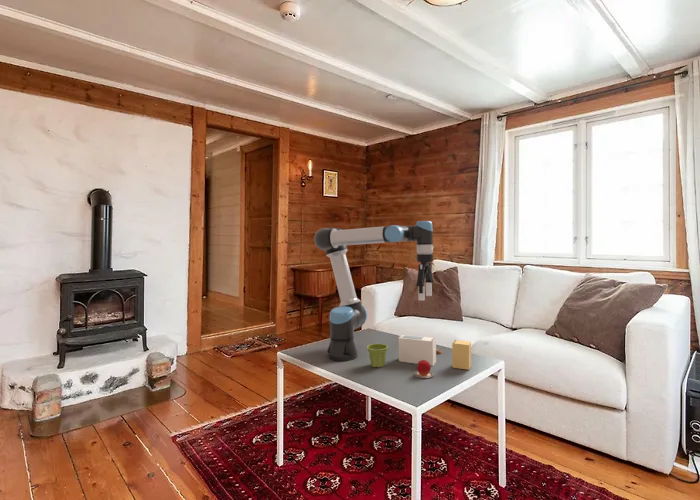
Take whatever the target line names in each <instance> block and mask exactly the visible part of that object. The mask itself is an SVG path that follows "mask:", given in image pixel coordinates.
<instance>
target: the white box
mask: <svg viewBox="0 0 700 500" xmlns="http://www.w3.org/2000/svg"><path fill="white" fill-rule="evenodd" d="M436 348H437V338H436V337H432V336H431V337H430V336H420V335H409V334H408V335H407V334H406V335H405V334H402V335H400V336H398V362H401V363H402V362H403V363H410V364H417V365H418V362H419V361H421V360H426V361H428V362H429V364H430V366H431V367H433V366H434V365H435V364H436V363H437V355H436Z"/></svg>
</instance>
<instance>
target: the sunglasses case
mask: <svg viewBox="0 0 700 500" xmlns="http://www.w3.org/2000/svg"><path fill="white" fill-rule="evenodd" d="M442 354H444V352H442V351H441V350H440V349H439V348H437V347H436V356H437V355H442Z"/></svg>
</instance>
